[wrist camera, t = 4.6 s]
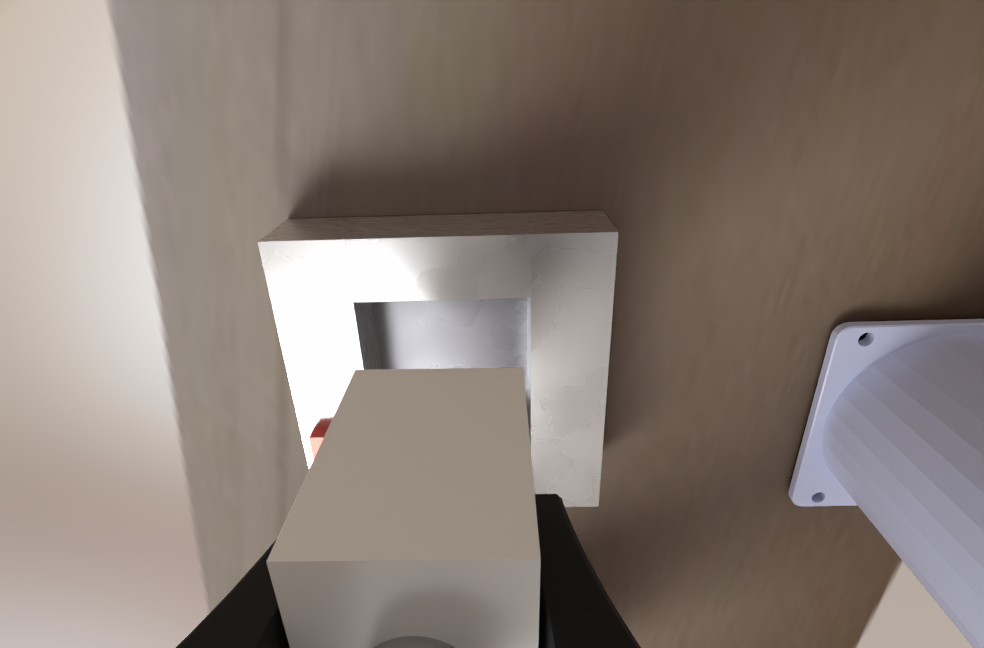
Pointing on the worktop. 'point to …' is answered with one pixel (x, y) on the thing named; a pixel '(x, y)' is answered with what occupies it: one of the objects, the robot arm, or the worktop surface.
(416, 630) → the plug
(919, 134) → the worktop surface
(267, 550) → the robot arm
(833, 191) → the worktop surface
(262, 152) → the worktop surface
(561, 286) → the socket plate
